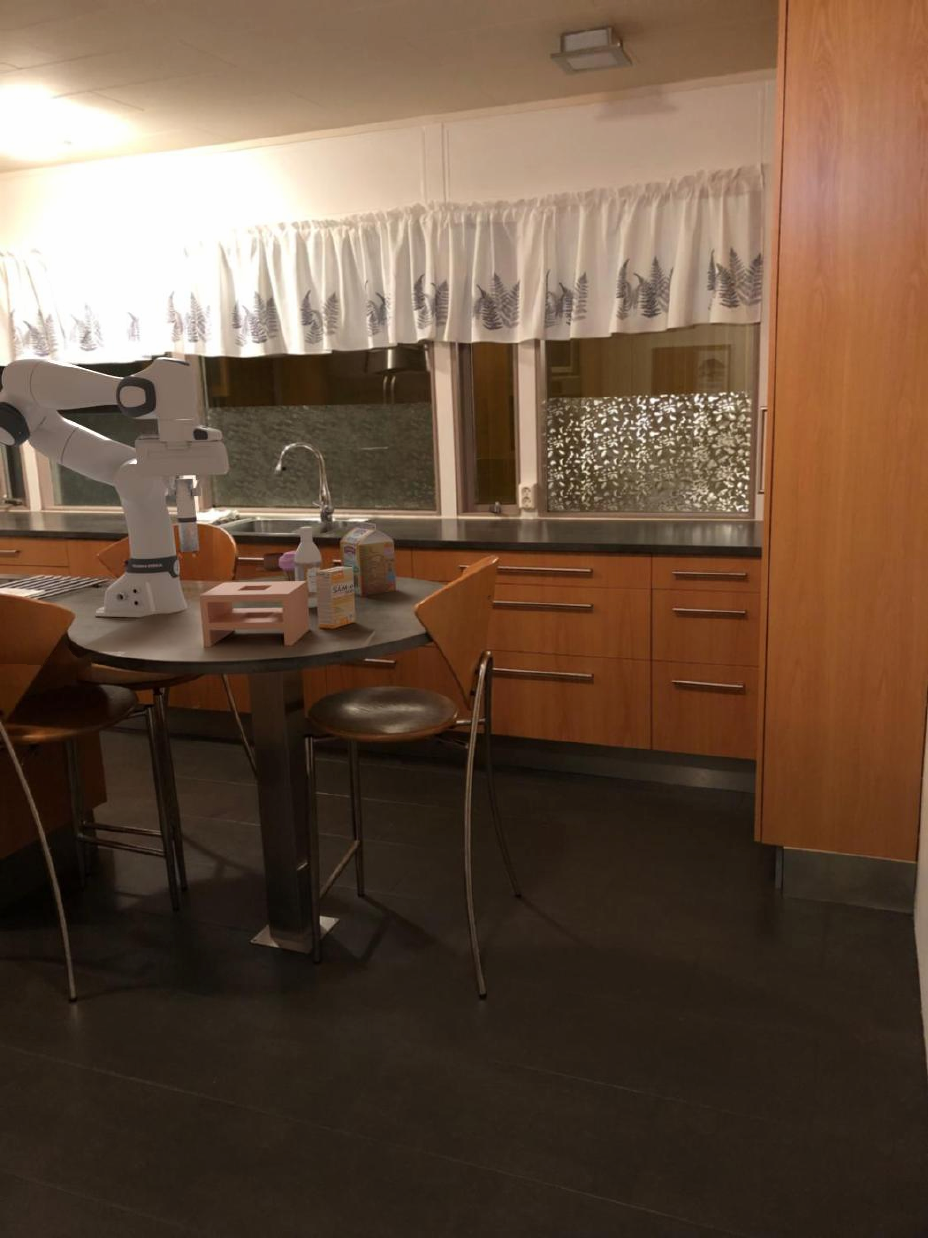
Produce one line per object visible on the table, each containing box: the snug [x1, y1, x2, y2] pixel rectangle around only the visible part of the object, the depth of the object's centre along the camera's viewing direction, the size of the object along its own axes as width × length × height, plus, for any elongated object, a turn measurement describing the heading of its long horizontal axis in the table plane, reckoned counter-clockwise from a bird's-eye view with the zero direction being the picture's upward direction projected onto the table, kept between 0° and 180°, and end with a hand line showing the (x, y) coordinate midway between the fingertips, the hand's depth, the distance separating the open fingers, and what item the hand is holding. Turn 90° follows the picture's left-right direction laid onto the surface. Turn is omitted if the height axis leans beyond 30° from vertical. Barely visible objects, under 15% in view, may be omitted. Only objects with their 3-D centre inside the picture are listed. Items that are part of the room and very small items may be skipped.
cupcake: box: [279, 550, 296, 581], centre depth 281 cm, size 9×9×10 cm
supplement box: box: [315, 566, 356, 629], centre depth 224 cm, size 8×5×13 cm, turn 148°
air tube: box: [174, 477, 200, 553], centre depth 220 cm, size 4×4×16 cm
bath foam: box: [294, 526, 324, 609], centre depth 248 cm, size 7×7×20 cm
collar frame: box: [198, 580, 311, 647], centre depth 214 cm, size 19×16×11 cm
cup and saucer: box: [256, 552, 285, 573], centre depth 304 cm, size 12×12×6 cm
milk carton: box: [339, 521, 397, 597], centre depth 264 cm, size 11×11×19 cm
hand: (185, 496), depth 219 cm, fingers closed on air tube, 4 cm apart
